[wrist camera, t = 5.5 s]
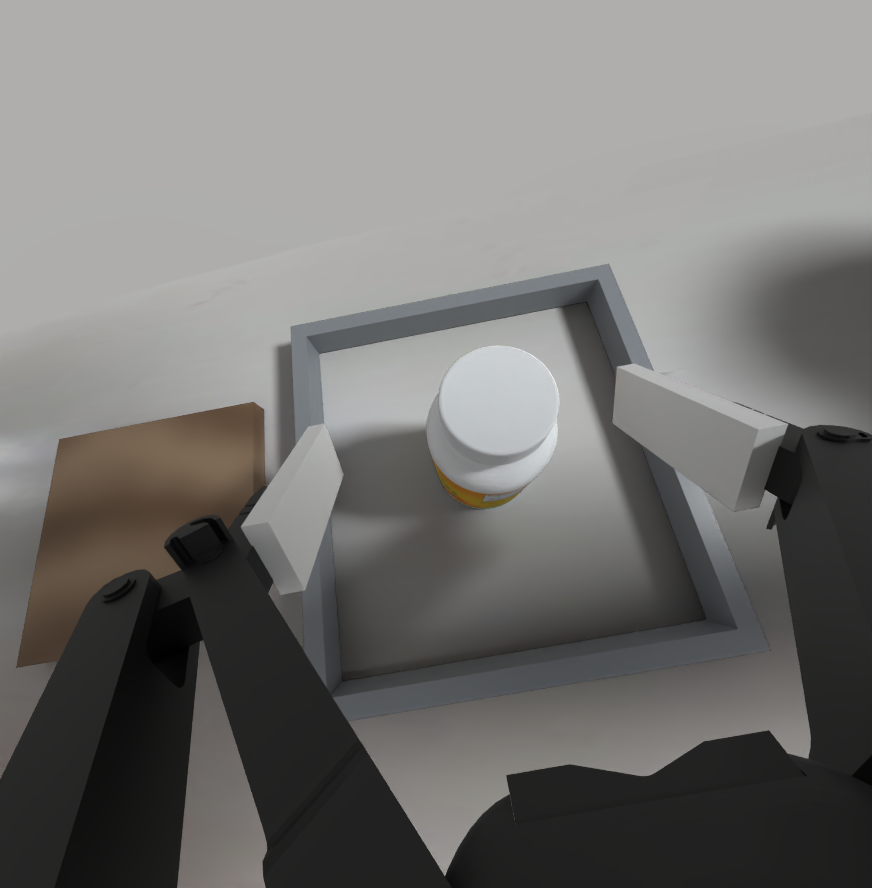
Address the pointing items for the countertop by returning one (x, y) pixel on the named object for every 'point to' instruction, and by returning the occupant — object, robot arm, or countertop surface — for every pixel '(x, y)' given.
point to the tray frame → (659, 648)
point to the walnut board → (133, 508)
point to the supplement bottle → (493, 425)
